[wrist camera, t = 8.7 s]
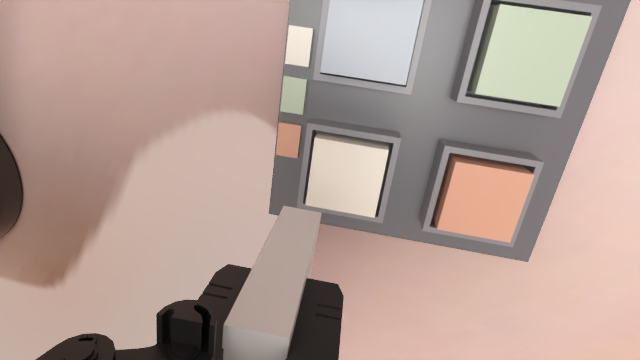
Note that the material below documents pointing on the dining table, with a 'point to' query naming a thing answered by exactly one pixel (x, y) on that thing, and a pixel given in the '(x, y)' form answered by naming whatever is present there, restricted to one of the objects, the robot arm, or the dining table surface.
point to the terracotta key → (481, 197)
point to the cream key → (346, 173)
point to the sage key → (527, 54)
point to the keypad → (433, 119)
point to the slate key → (371, 38)
